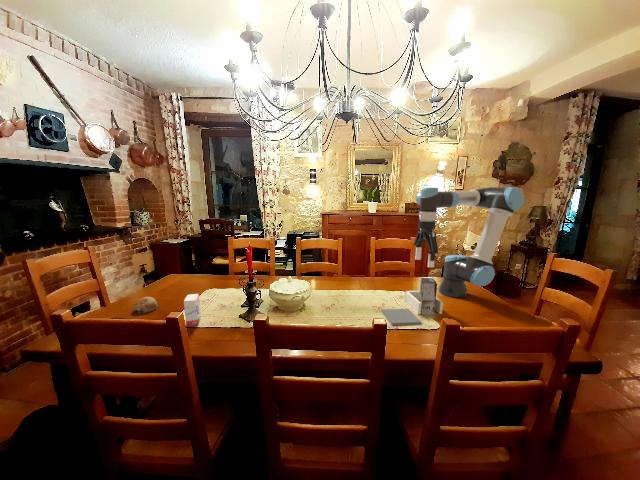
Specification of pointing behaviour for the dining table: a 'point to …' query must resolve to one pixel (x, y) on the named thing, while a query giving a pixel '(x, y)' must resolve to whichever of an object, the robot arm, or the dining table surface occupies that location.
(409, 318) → the slate pad
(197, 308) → the ink box
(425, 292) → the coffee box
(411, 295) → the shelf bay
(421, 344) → the dining table surface
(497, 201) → the robot arm
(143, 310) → the grey brown rock
